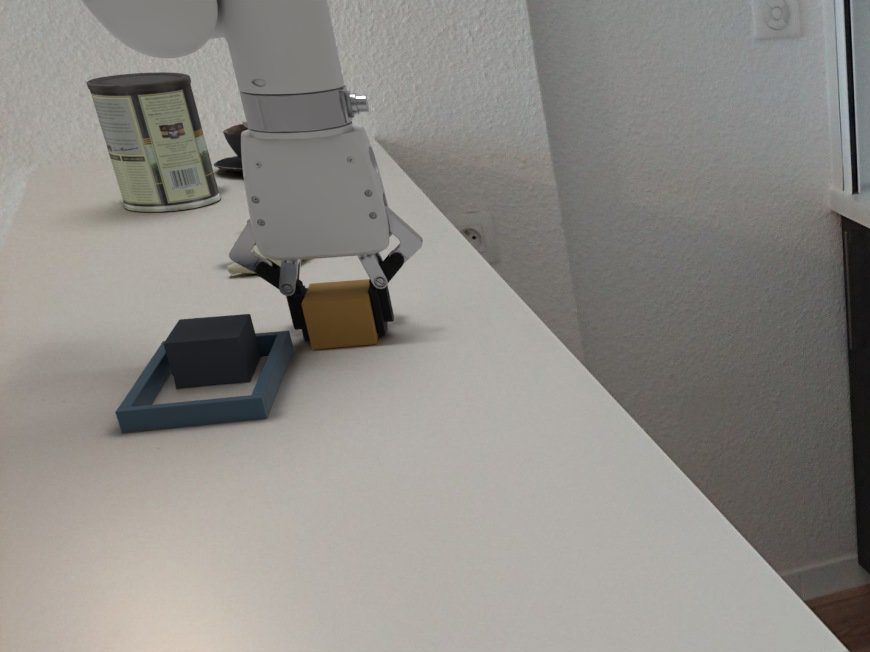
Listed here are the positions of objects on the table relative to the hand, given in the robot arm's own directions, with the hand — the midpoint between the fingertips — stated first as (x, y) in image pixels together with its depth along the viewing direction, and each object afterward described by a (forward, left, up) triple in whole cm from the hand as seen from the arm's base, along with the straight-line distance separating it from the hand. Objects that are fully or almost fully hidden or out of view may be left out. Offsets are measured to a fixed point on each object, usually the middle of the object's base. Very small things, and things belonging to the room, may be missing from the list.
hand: (346, 331), depth 109 cm
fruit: (-10, +30, -1) cm, 32 cm away
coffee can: (-24, +59, -1) cm, 64 cm away
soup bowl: (-15, +77, -1) cm, 78 cm away
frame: (-8, -13, 0) cm, 15 cm away
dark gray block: (-8, -9, 0) cm, 13 cm away
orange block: (0, 0, 0) cm, 0 cm away
